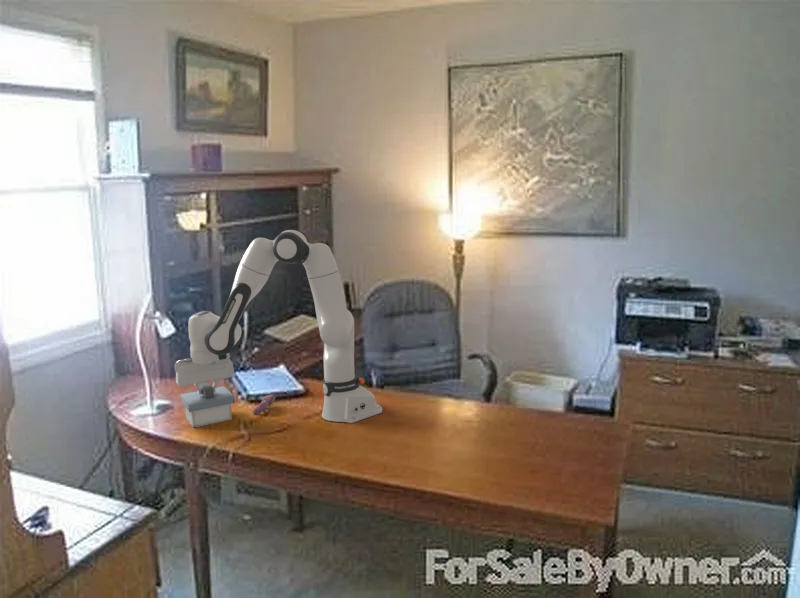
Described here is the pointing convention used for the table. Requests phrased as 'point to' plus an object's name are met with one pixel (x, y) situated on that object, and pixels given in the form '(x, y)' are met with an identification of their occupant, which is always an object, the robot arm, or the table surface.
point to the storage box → (209, 415)
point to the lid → (207, 398)
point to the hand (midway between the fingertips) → (206, 392)
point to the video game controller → (264, 404)
